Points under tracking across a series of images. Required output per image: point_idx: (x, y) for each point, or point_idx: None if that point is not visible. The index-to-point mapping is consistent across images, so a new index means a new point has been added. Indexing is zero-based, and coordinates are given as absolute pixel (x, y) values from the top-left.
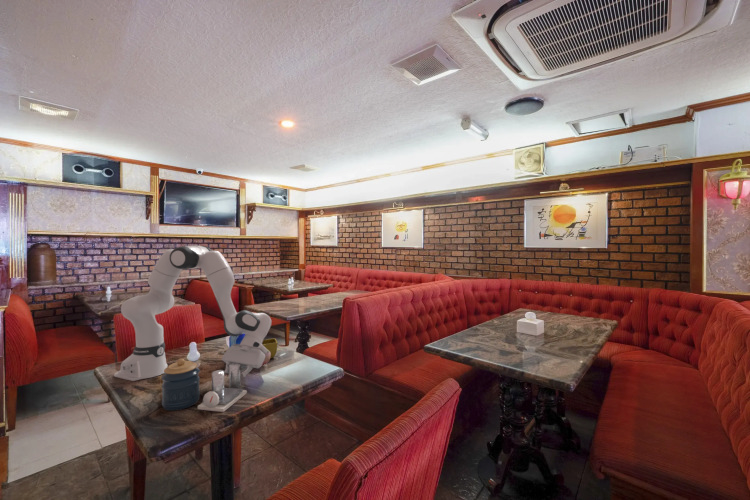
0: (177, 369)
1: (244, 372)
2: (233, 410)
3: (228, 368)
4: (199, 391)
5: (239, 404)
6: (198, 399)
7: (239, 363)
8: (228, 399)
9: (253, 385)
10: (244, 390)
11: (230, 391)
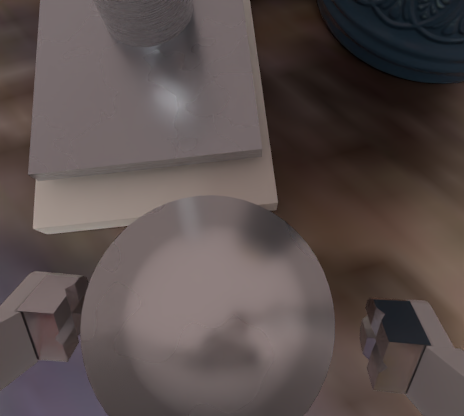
0: None
1: (12, 297)
2: (7, 18)
3: (426, 389)
4: (369, 11)
5: (9, 82)
6: (332, 26)
7: (128, 410)
8: (45, 7)
9: (67, 397)
10: (51, 222)
11: (114, 107)
